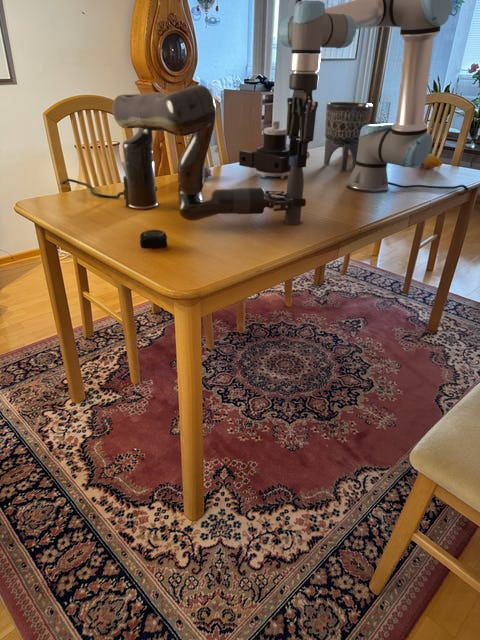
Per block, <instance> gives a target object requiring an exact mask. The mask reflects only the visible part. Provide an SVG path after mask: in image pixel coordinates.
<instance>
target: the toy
mask: <svg viewBox="0 0 480 640" xmlns="http://www.w3.org/2000/svg"><path fill="white" fill-rule="evenodd" d="M442 165H443V161H442V160H440V159H438V157H437V156H436V155H434V154H430V153H429V155H428V156H427V158H426V159H425V161H424V162H423V163H422V164H421V165H420V166H421V167H425V168H426V169H428V170H430V169H435V168H438V167H441V166H442Z"/></svg>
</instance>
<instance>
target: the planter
mask: <svg viewBox="0 0 480 640" xmlns="http://www.w3.org/2000/svg"><path fill="white" fill-rule="evenodd" d="M373 107H374V106H373V104H372V103H367V102H353V101H333V102H327V103H326V109H325V124H324V125H325V126H324V139H325V144H324V156H323V157H324V158H323V165H325V166H328V165H330V163H331V158H332V156H333V154H334V153H335V151H336V150H337V149H340V148H341V152H342V153H341V166H340V170H341V172H345V171H347V167H348V166H347V165H348V159H349V153H348V152H349V150H350V151H351V153H352V154H351V157H352V158H351V159H352V160H351V161H352V166H353V167H355V165H356V158H357V151H358V143H359V136H360V132H361V128H362V127H363V126H365V125H370V121H371V116H372V112H373Z"/></svg>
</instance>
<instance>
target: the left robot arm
mask: <svg viewBox="0 0 480 640" xmlns="http://www.w3.org/2000/svg"><path fill="white" fill-rule="evenodd" d="M216 107H217V106H216V102H215V99H214V96H213V94H212V93H211V91H210V89H209V88H208V87H207V86H205V85H204V84H203V85H202V84H196V85H192V86H189V87H186V88H183V89H180V90H177V91H174V92H172V93H169V94H165V93H163V92H159V91H153V92H152V91H151V92H146V93H138V94H134V93H133V94H132V93H131V94H119V95H117V96H116V97H115V98H114V99H113V102H112V116H113V117H114V121H115V123H116V124H117V125H118V126H119V127H120V128H122V129H138V130H137V132H136V133H135V134H134V135H133V136H132V137H130V138H128V139H126V140H123V142H122V154H123V164H124V172H125V175H124V176H123V179H122V180H123V188H124V189H123V191H120V192H118V193H117V194H116V195H107V194H102V193H97V192H95V190H94V187H92V185H90V184H88V183H86V182H82V181H79V180H76V179H72V178H66V179H67V180H66V179H65V180H66V181H64V180H63V181H62V182H61V184H62V185H64V184H66V183H68V182H71V183H75V184H78V185H82V186H85V187H87V188H88V189H90V193H91V194H92V195H93V196H96V197H100V198H103V199H104V198H106V199H118V198H120V197H121V196H123V199H124V200H125V206H126V207H128V208H130V209H134V210H150V209H153V208H156V207H158V199H157V192H158V187H157V186H156V185H157V184H156V172H155V159H154V133H153V131H154V132H166V133H169V134H171V135H173V136H177V137H187V136H189V135H191V136H190V138H189V140H188V143H187V144H186V146H185V147H184V149H183V151H182V154H181V155H180V158H179V161H178V164H177V183H178V187H177V188H178V189H177V190H178V191H177V192H178V194H177V195H178V196H177V198H178V210H179V215H180V216H181V218H182V219H184V220H186V221H190V222H196V221H200V220H202V219H206V218H209V217H213V216H217V215H230V214H232V215H262V214H263V213H264V212H265V208H266V209H267V208H269V209H270V210H273V212H281V211H285V210H292V208H293V207H302V208H303V207H306V203H307V201H306V198H305V197H304V198H303V197H302V198H300V199H292V198H286V195H287V192H286V191H284V190H265V191H264V188H263V187H237V188H219V189H214V190H213V191H212V192H211V194H210V199H208V200H205V201H204V197H203V189H204V185H205V178H204V171H205V166H206V160H207V155H208V153H209V152H208V151H209V149H210V144H211V141H212V137H213V132H214V128H215V124H216V119H217V108H216ZM287 203H289V205H286V204H287Z"/></svg>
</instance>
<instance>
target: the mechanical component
mask: <svg viewBox="0 0 480 640" xmlns="http://www.w3.org/2000/svg"><path fill="white" fill-rule="evenodd" d="M286 129H287V128H286V127H280V121H279V120H272V126H271V127H265V128H264V129H263V145H262V146H258V147H257V148H256V151H250V150H245V149H241V150H239V153H238V154H239V155H238V157H239V159H238V166H240V167H245V168H250V169H255V173H256V174H257V175H261V177H262V178H267V177H279V178H280V179H285V176H289V173H290V170H291V166H290V165H289V164H288V160H289V146H290V143H287V138H288V136H287V135H286ZM310 156H311V154H310V152H309V151H308V150H307V160H309V158H310Z"/></svg>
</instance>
